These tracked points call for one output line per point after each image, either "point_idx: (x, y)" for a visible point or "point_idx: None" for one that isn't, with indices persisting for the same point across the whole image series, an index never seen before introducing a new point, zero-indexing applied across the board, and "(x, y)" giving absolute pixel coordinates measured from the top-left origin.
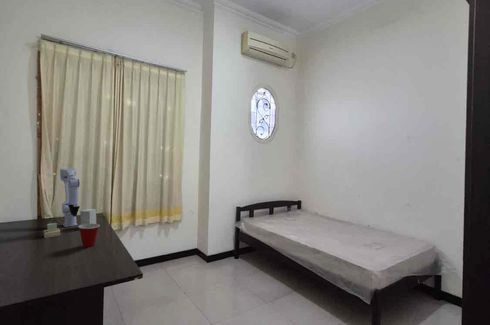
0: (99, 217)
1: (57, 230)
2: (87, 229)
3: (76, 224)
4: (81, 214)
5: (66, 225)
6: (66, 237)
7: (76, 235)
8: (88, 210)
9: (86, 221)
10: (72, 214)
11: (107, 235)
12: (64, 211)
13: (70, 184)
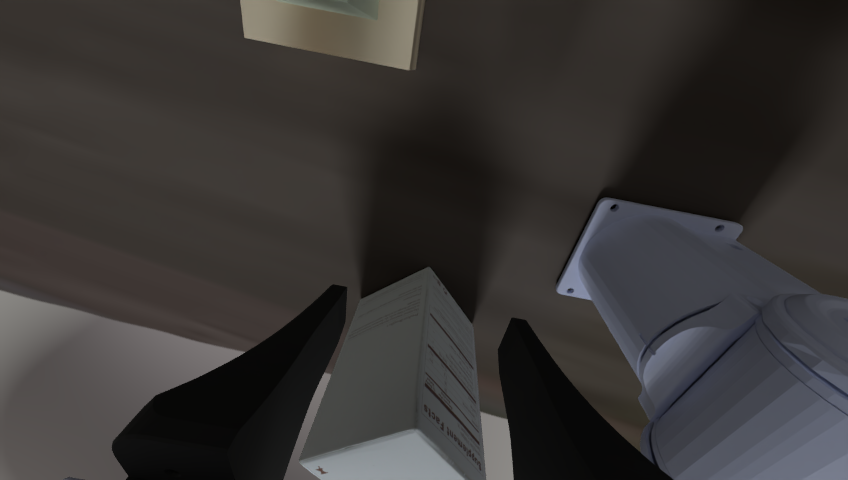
0: (639, 444)
1: (292, 14)
2: None
3: (568, 288)
4: (402, 383)
5: (621, 221)
6: (161, 64)
7: (192, 157)
8: (352, 474)
9: (366, 333)
10: (318, 303)
11: (89, 290)
12: (773, 326)
13: None
